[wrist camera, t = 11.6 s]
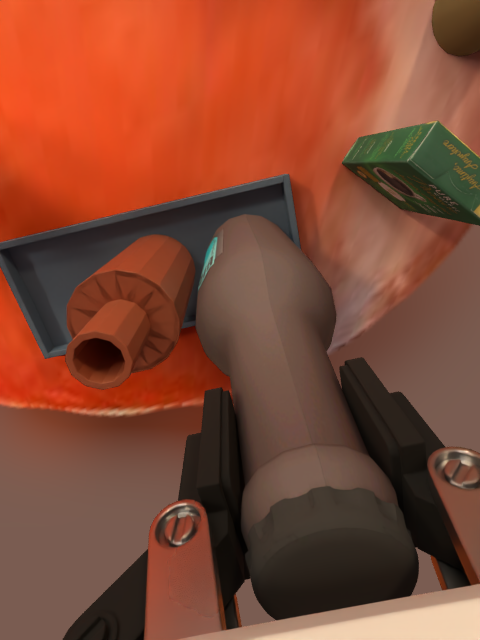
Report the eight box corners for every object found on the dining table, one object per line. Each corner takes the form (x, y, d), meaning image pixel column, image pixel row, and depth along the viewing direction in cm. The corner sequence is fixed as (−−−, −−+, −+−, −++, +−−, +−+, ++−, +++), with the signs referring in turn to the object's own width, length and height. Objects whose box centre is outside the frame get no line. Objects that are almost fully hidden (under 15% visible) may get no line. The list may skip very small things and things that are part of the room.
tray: (53, 350, 40) (44, 359, 38) (1, 241, 36) (-11, 245, 34) (305, 294, 39) (309, 300, 37) (285, 173, 34) (289, 174, 32)
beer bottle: (194, 230, 34) (51, 515, 6) (272, 200, 33) (533, 363, 5) (224, 302, 36) (222, 728, 9) (297, 276, 36) (551, 649, 8)
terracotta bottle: (136, 310, 38) (61, 429, 21) (112, 243, 36) (2, 314, 18) (203, 295, 38) (184, 403, 20) (184, 226, 35) (143, 281, 18)
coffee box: (423, 186, 35) (527, 193, 23) (402, 212, 36) (493, 232, 24) (359, 134, 33) (436, 113, 21) (339, 163, 34) (403, 159, 22)
